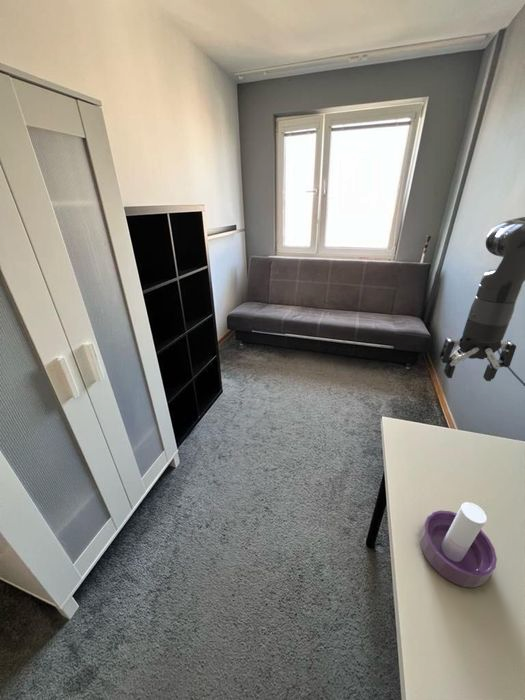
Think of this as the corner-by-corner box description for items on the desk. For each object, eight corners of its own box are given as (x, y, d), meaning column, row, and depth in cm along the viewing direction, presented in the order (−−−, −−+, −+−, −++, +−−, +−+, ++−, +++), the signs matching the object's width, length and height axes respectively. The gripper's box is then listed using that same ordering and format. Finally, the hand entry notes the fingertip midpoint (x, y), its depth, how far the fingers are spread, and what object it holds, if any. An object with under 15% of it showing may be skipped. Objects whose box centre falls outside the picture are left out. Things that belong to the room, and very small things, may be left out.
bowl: (428, 512, 72) (434, 499, 69) (491, 550, 64) (500, 537, 61) (411, 555, 64) (416, 542, 61) (481, 605, 56) (491, 593, 53)
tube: (458, 566, 61) (482, 527, 54) (437, 549, 64) (457, 511, 57) (466, 552, 63) (489, 513, 56) (445, 536, 66) (465, 498, 59)
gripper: (516, 313, 64) (492, 372, 72) (447, 311, 67) (431, 368, 75) (536, 325, 58) (507, 389, 65) (459, 322, 61) (440, 383, 69)
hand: (467, 378), depth 70 cm, fingers open, 8 cm apart
